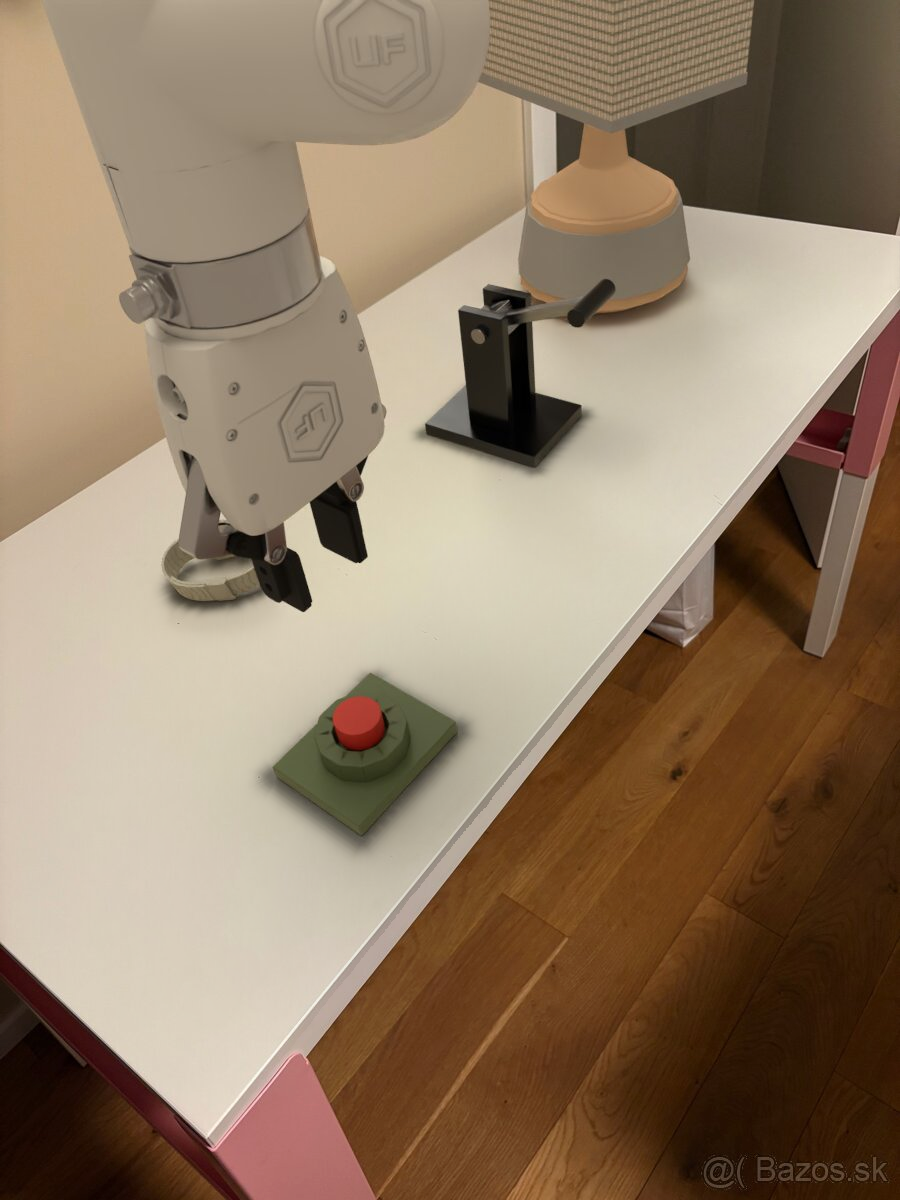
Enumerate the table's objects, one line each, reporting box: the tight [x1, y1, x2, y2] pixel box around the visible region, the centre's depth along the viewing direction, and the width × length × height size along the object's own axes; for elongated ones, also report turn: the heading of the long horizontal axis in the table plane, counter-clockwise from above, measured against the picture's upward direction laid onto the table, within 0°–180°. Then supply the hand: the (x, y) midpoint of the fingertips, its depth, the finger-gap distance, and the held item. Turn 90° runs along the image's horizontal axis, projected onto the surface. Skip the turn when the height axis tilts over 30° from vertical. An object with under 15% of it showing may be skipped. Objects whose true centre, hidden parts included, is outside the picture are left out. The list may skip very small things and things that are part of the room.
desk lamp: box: [478, 0, 755, 315], centre depth 95 cm, size 22×19×37 cm
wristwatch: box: [160, 519, 260, 602], centre depth 77 cm, size 9×6×5 cm
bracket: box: [424, 283, 583, 468], centre depth 86 cm, size 12×9×13 cm
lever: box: [480, 279, 616, 335], centre depth 80 cm, size 12×6×2 cm, turn 56°
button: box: [333, 696, 385, 751], centre depth 63 cm, size 3×3×2 cm
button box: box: [272, 672, 458, 836], centre depth 64 cm, size 10×8×3 cm
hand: (317, 573), depth 53 cm, fingers open, 3 cm apart
